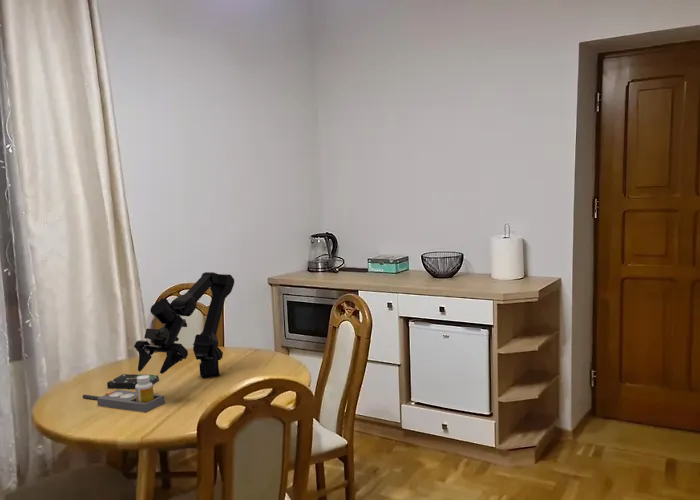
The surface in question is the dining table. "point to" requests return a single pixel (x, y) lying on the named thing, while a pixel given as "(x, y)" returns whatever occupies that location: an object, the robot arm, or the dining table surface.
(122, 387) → the disk drive
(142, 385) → the supplement bottle
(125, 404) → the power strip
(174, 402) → the dining table surface
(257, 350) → the dining table surface
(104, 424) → the dining table surface
